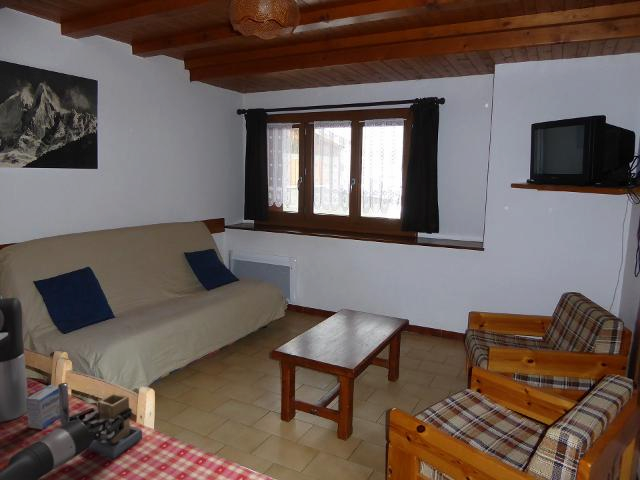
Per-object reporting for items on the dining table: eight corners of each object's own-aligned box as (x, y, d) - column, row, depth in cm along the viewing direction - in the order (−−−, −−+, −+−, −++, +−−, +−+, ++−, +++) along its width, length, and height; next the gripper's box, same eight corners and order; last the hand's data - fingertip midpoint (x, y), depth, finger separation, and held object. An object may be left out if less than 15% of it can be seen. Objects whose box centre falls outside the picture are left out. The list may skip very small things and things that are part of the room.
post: (61, 442, 115) (57, 384, 112) (70, 439, 116) (66, 382, 114) (63, 446, 114) (58, 387, 111) (71, 443, 115) (68, 385, 112)
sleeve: (99, 438, 113) (97, 401, 112) (115, 428, 118) (114, 392, 116) (114, 443, 111) (112, 406, 110) (130, 433, 116) (128, 397, 114)
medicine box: (42, 430, 120) (39, 400, 118) (27, 427, 121) (25, 398, 119) (64, 414, 128) (62, 386, 126) (50, 412, 128) (48, 384, 127)
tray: (87, 448, 113) (87, 439, 113) (116, 429, 121) (116, 421, 121) (114, 458, 110) (113, 449, 109) (142, 438, 118) (141, 430, 117)
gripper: (84, 438, 97) (143, 401, 113) (39, 421, 103) (101, 389, 118) (85, 469, 99) (144, 429, 114) (41, 451, 104) (102, 415, 120)
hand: (122, 409), depth 116 cm, fingers closed on sleeve, 5 cm apart
